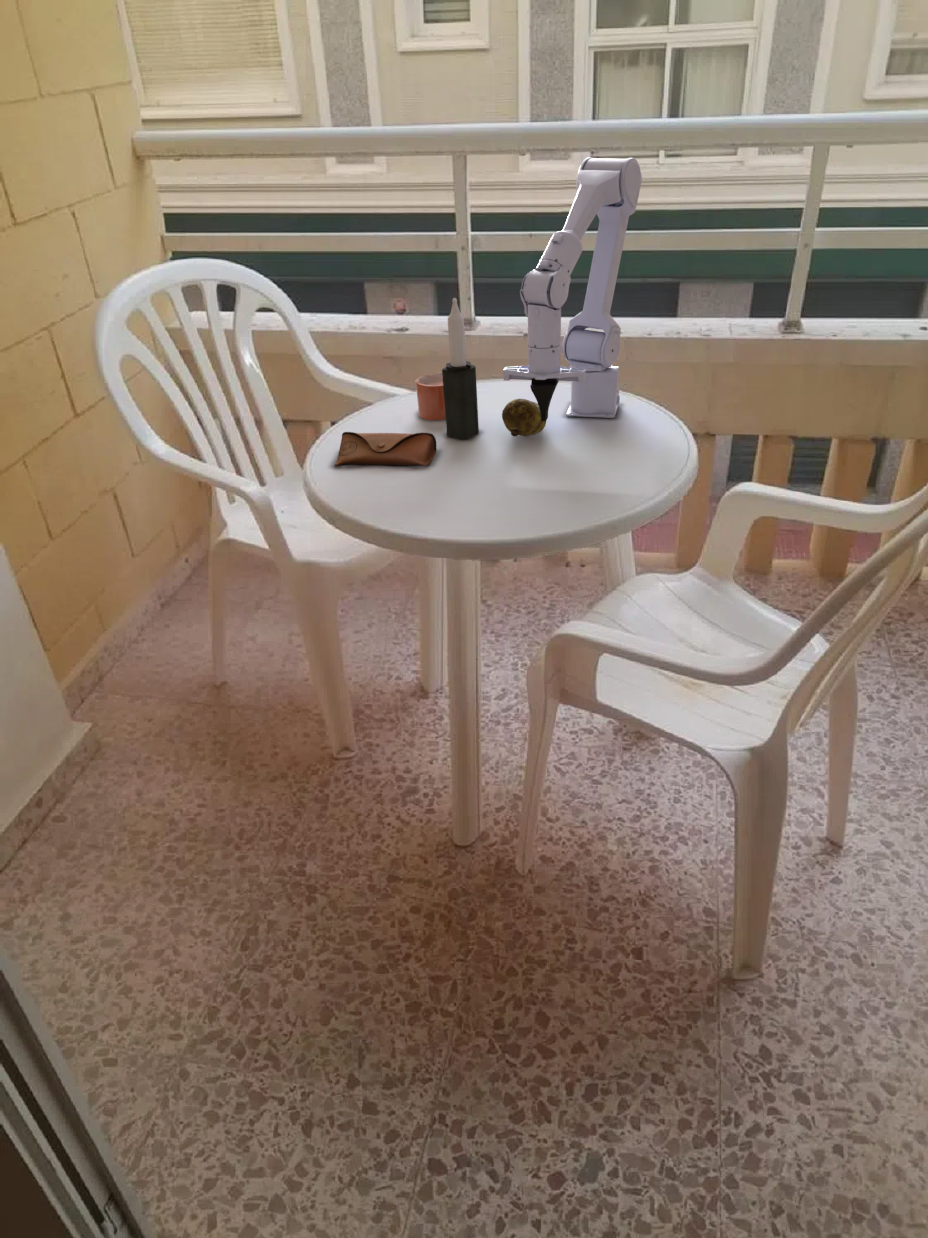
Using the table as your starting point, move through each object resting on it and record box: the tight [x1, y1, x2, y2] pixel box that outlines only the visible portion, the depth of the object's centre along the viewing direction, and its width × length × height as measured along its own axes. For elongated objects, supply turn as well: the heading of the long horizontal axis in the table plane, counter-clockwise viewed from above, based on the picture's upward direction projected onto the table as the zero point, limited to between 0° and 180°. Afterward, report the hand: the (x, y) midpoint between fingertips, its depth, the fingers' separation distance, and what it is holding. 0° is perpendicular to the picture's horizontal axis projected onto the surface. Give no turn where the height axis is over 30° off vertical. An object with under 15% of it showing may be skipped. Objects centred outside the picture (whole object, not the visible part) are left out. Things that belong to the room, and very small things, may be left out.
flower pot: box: [415, 372, 446, 421], centre depth 166 cm, size 8×8×7 cm
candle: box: [441, 297, 480, 441], centre depth 151 cm, size 5×5×25 cm
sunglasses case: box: [333, 431, 437, 468], centre depth 150 cm, size 18×7×7 cm
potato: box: [501, 398, 547, 437], centre depth 153 cm, size 8×13×8 cm, turn 148°
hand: (544, 419), depth 151 cm, fingers closed, pressing on potato
